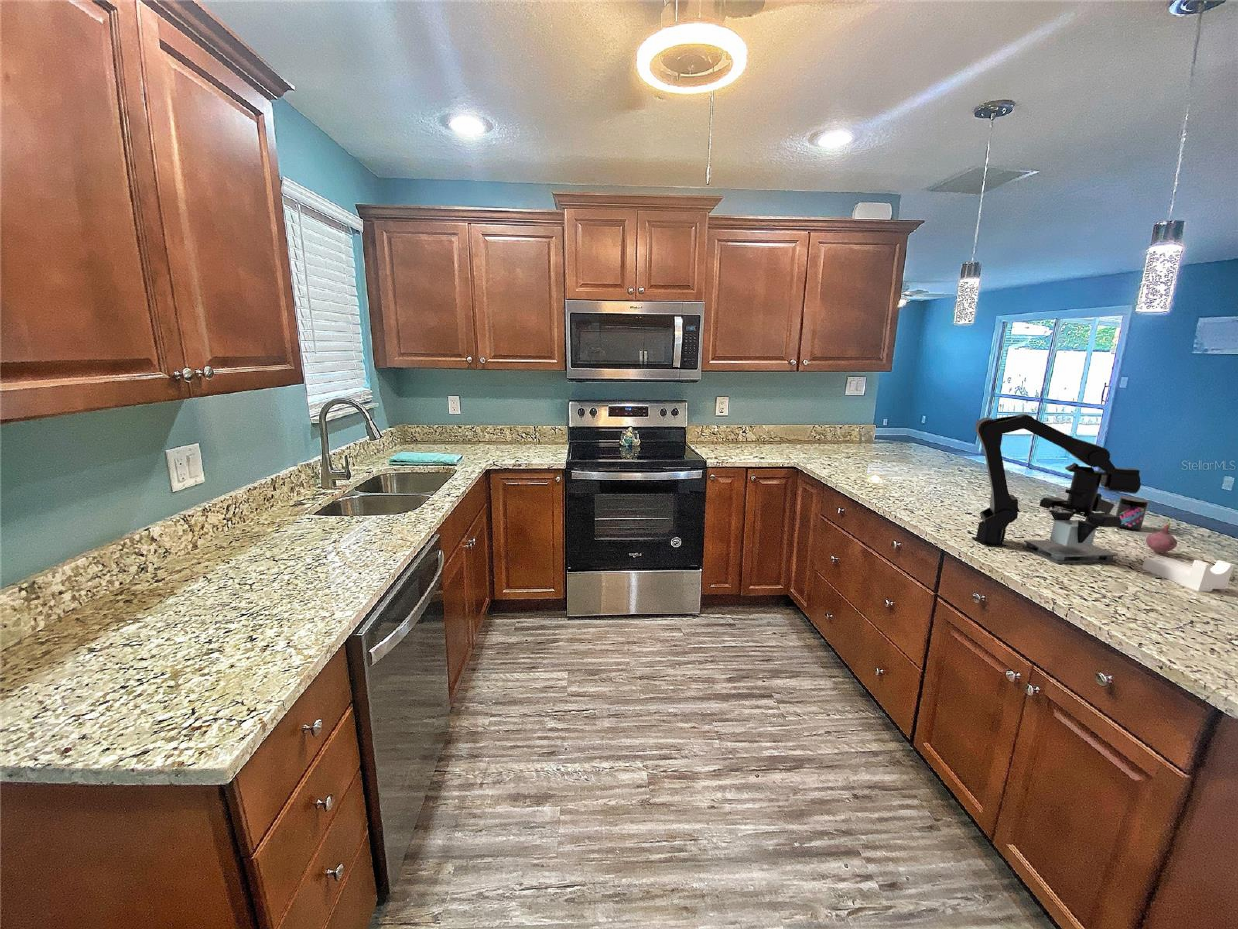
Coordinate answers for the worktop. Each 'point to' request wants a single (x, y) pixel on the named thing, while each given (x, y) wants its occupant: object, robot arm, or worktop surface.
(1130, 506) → the supplement container
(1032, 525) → the worktop surface
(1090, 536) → the housing
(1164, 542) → the vegetable
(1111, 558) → the stand
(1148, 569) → the bracket
